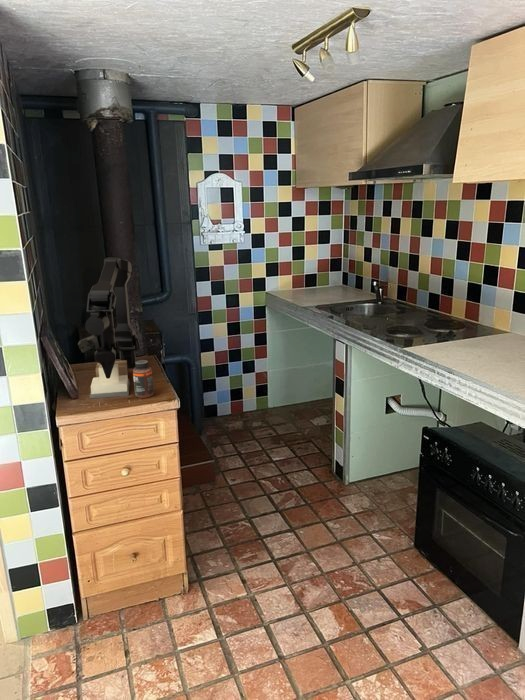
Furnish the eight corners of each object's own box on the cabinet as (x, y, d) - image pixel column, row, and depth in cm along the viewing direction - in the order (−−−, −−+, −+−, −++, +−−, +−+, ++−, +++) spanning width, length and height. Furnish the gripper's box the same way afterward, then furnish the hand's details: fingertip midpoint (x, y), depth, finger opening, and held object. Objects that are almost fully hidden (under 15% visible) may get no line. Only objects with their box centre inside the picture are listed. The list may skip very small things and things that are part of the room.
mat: (93, 384, 184) (93, 382, 184) (129, 381, 186) (129, 379, 186) (89, 398, 171) (89, 396, 171) (128, 395, 173) (128, 393, 173)
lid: (93, 384, 182) (91, 363, 180) (128, 382, 184) (126, 360, 182) (91, 394, 173) (89, 371, 171) (127, 391, 175) (125, 369, 173)
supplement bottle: (155, 391, 176) (152, 358, 173) (152, 398, 170) (149, 364, 167) (136, 392, 176) (134, 359, 173) (133, 399, 170) (130, 364, 167)
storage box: (98, 375, 193) (97, 362, 191) (127, 373, 195) (126, 360, 193) (96, 382, 185) (95, 369, 184) (126, 380, 187) (125, 366, 186)
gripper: (81, 322, 180) (86, 367, 184) (74, 336, 162) (80, 385, 167) (116, 320, 182) (120, 364, 187) (112, 334, 165) (117, 382, 169)
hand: (109, 373), depth 177 cm, fingers open, 9 cm apart
